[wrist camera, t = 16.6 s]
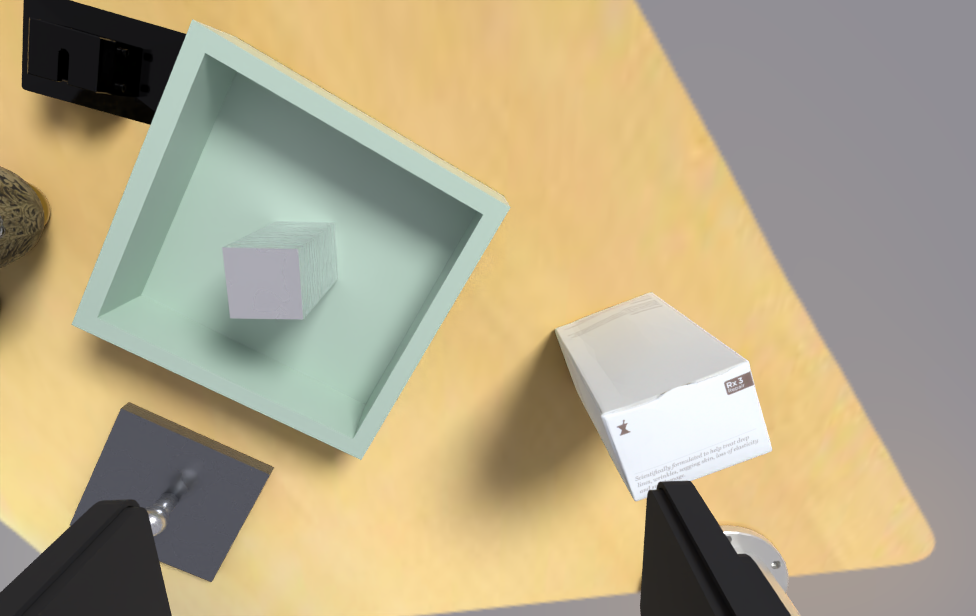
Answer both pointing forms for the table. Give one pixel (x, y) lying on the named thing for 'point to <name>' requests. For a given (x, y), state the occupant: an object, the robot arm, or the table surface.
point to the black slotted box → (97, 58)
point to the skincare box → (663, 393)
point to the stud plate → (177, 487)
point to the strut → (280, 270)
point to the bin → (284, 197)
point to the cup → (20, 216)
